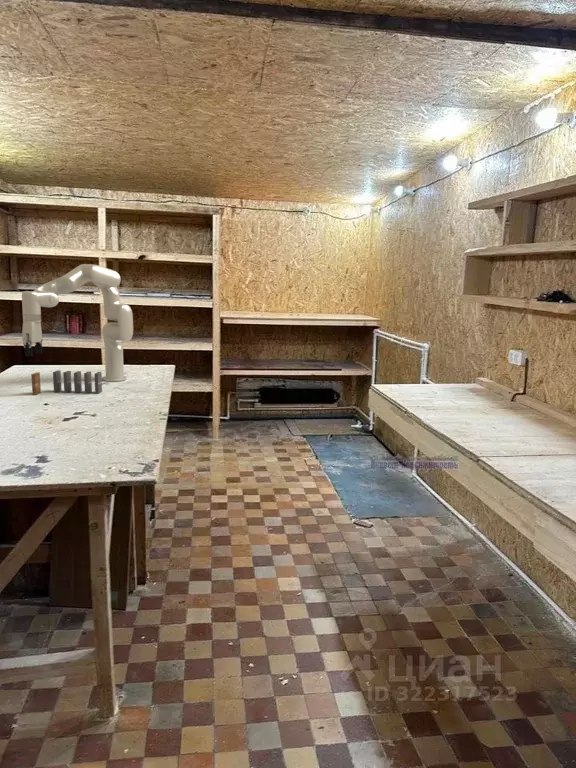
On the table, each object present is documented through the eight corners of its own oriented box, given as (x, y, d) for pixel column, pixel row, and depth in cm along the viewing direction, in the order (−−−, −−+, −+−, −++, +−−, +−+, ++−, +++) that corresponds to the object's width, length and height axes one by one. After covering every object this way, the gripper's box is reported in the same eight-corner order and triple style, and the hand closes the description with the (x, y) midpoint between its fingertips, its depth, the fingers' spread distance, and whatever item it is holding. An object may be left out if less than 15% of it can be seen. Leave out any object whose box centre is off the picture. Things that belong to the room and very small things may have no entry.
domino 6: (95, 393, 249) (94, 373, 247) (98, 391, 254) (98, 371, 252) (98, 393, 249) (97, 373, 247) (102, 391, 254) (101, 372, 252)
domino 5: (84, 393, 249) (84, 373, 247) (88, 391, 254) (87, 371, 252) (88, 393, 249) (87, 373, 247) (92, 391, 254) (91, 371, 252)
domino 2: (53, 392, 249) (52, 372, 247) (58, 390, 254) (57, 370, 252) (57, 392, 249) (56, 372, 247) (61, 390, 254) (60, 370, 252)
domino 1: (32, 395, 242) (31, 374, 240) (37, 392, 247) (36, 372, 245) (36, 395, 242) (34, 374, 240) (40, 392, 247) (39, 372, 245)
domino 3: (64, 392, 249) (63, 372, 247) (68, 390, 254) (67, 370, 252) (67, 392, 249) (66, 372, 247) (71, 390, 254) (70, 370, 252)
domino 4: (74, 393, 249) (73, 372, 247) (78, 390, 254) (77, 371, 252) (77, 393, 249) (77, 373, 247) (81, 391, 254) (81, 371, 252)
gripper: (32, 316, 245) (34, 352, 249) (14, 319, 228) (16, 357, 232) (48, 317, 245) (50, 352, 249) (31, 319, 228) (33, 357, 232)
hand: (33, 354), depth 240 cm, fingers open, 9 cm apart
